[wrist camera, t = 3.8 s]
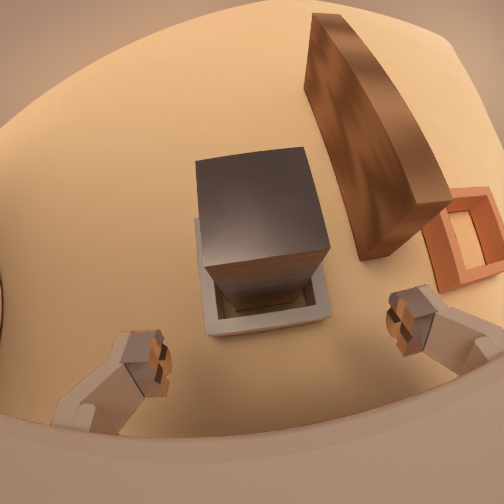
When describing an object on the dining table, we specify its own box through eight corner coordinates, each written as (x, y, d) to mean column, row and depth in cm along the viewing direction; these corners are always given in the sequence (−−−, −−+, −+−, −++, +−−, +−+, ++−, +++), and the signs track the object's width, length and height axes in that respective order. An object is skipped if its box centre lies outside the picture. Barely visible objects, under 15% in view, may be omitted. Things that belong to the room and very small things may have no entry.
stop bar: (294, 301, 20) (330, 247, 9) (235, 310, 20) (203, 266, 9) (284, 245, 21) (303, 146, 10) (227, 253, 21) (195, 161, 10)
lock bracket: (495, 275, 19) (516, 266, 16) (439, 292, 19) (460, 284, 16) (471, 201, 22) (488, 186, 19) (414, 207, 22) (431, 190, 19)
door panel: (406, 252, 20) (473, 198, 12) (360, 260, 20) (417, 203, 12) (340, 87, 26) (357, 16, 17) (303, 87, 26) (312, 13, 17)
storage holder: (321, 320, 19) (332, 315, 16) (214, 337, 19) (206, 335, 16) (301, 221, 21) (307, 202, 19) (203, 235, 21) (194, 218, 18)
